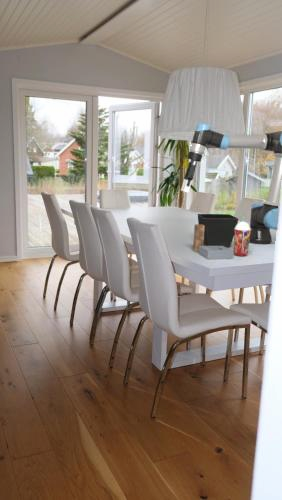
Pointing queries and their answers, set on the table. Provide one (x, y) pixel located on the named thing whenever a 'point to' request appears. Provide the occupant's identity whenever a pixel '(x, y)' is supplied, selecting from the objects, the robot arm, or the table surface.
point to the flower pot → (218, 229)
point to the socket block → (215, 252)
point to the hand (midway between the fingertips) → (184, 191)
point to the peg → (198, 237)
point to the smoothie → (241, 238)
